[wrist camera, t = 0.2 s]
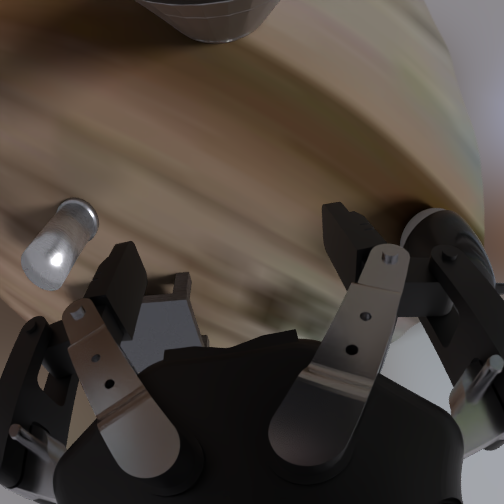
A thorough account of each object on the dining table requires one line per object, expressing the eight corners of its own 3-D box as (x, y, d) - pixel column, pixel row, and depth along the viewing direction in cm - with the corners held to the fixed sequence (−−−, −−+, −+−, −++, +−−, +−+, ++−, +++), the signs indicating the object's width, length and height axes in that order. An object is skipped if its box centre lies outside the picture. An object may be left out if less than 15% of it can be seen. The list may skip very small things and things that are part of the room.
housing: (52, 202, 29) (10, 249, 21) (90, 193, 29) (50, 241, 21) (68, 242, 32) (34, 294, 24) (105, 236, 32) (75, 291, 24)
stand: (90, 280, 35) (78, 307, 31) (190, 270, 36) (186, 299, 31) (126, 346, 44) (120, 371, 39) (210, 342, 44) (210, 369, 40)
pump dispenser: (447, 251, 37) (504, 324, 25) (388, 270, 38) (438, 358, 26) (454, 189, 31) (531, 258, 19) (388, 205, 32) (460, 292, 20)
